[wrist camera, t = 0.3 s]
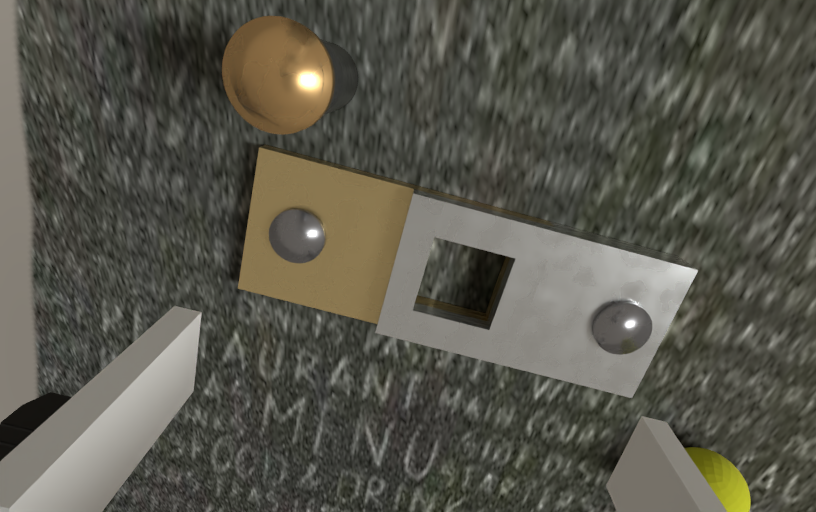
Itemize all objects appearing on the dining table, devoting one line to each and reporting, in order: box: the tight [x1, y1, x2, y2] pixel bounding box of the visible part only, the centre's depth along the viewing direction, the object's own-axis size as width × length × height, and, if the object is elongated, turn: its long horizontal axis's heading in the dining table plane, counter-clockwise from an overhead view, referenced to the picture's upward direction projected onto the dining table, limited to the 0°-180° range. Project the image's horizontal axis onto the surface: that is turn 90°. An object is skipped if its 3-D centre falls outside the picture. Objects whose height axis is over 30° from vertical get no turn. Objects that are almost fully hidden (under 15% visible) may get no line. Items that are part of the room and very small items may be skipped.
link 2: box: [375, 189, 698, 398], centre depth 39 cm, size 12×22×4 cm, turn 75°
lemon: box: [684, 447, 750, 512], centre depth 41 cm, size 7×7×10 cm
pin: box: [222, 16, 358, 134], centre depth 30 cm, size 6×6×12 cm
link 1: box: [238, 145, 554, 324], centre depth 39 cm, size 12×23×2 cm, turn 75°
